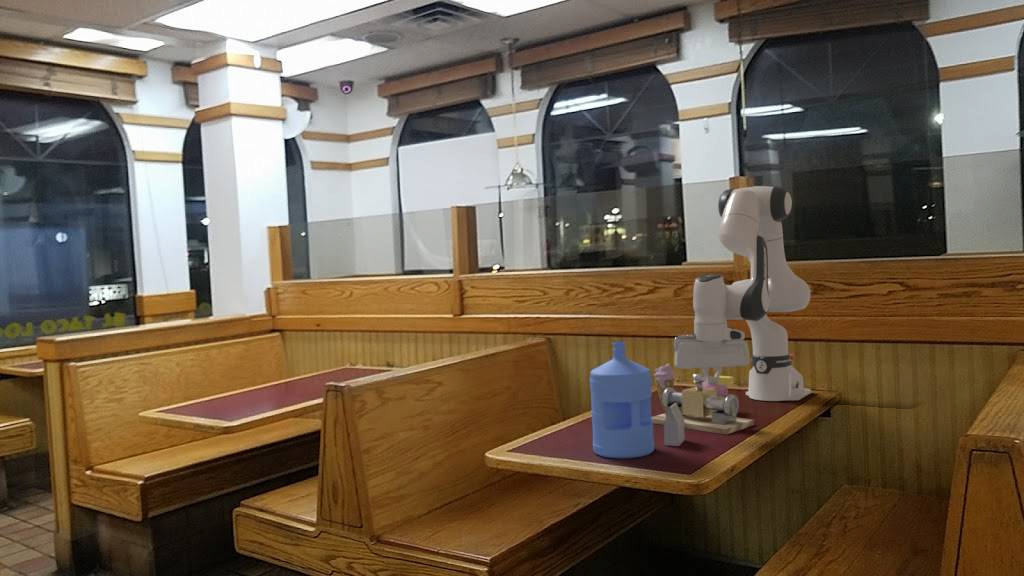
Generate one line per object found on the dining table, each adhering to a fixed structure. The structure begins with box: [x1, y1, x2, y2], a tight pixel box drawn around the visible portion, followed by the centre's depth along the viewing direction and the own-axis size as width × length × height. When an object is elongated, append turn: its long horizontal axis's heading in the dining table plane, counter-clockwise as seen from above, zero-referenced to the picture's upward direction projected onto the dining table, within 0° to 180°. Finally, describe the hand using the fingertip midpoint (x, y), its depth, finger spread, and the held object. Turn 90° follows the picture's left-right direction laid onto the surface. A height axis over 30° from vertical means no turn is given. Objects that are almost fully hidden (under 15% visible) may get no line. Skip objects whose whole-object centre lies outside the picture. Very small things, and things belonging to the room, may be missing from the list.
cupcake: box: [702, 381, 729, 398], centre depth 254 cm, size 9×9×10 cm
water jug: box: [589, 341, 655, 459], centre depth 212 cm, size 16×16×28 cm
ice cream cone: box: [653, 363, 675, 412], centre depth 259 cm, size 7×6×15 cm
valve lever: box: [692, 373, 735, 386], centre depth 236 cm, size 12×3×2 cm, turn 44°
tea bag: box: [663, 403, 686, 447], centre depth 219 cm, size 4×7×10 cm, turn 155°
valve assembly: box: [651, 382, 755, 436], centre depth 239 cm, size 14×26×12 cm, turn 43°
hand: (712, 383), depth 229 cm, fingers closed
